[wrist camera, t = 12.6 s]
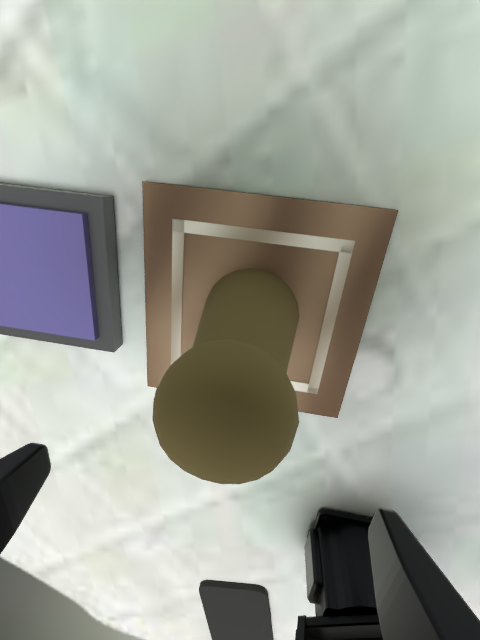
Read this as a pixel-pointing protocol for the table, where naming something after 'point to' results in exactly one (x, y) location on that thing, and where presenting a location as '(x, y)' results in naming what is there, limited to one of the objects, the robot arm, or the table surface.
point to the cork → (233, 383)
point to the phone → (236, 610)
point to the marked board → (269, 255)
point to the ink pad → (59, 267)
